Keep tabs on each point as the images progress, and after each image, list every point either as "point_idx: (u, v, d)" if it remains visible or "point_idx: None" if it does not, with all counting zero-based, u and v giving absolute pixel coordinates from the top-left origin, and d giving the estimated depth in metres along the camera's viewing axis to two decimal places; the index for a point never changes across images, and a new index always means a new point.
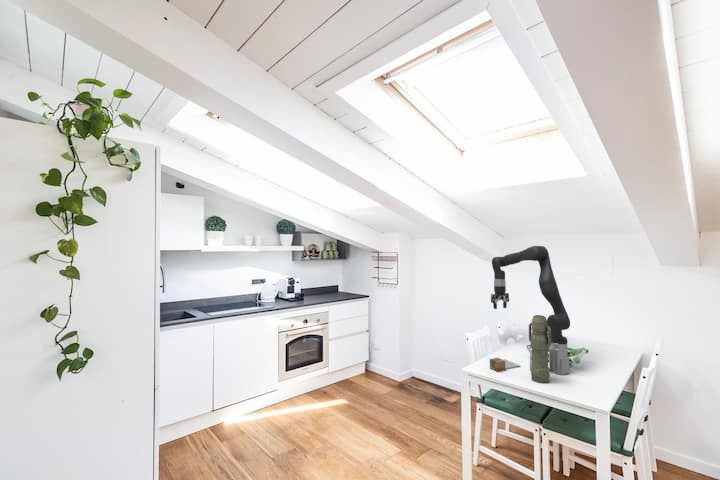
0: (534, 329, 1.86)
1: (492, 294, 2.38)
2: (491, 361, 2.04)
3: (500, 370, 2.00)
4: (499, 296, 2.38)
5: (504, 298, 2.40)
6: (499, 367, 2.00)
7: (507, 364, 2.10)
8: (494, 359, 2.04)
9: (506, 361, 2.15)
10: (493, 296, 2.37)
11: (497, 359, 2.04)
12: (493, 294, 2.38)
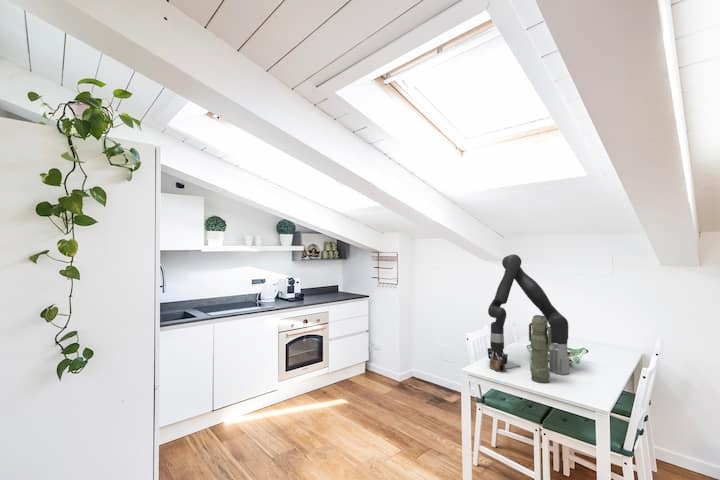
0: (534, 329, 1.86)
1: (505, 355, 1.97)
2: (491, 361, 2.04)
3: None
4: None
5: None
6: (499, 366, 2.00)
7: (507, 364, 2.10)
8: (494, 359, 2.04)
9: None
10: None
11: (497, 359, 2.04)
12: None
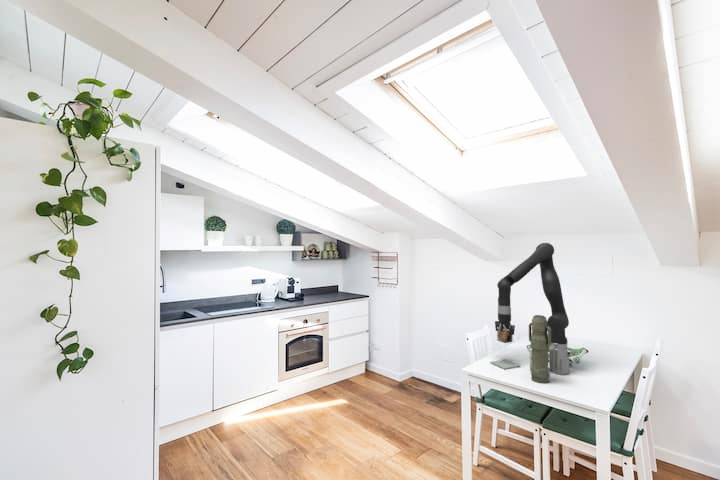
0: (534, 329, 1.86)
1: (513, 326, 2.05)
2: (498, 333, 2.11)
3: (507, 341, 2.08)
4: None
5: None
6: (506, 338, 2.07)
7: (507, 364, 2.10)
8: (501, 331, 2.11)
9: (506, 361, 2.15)
10: (514, 327, 2.05)
11: (504, 331, 2.11)
12: (514, 325, 2.05)
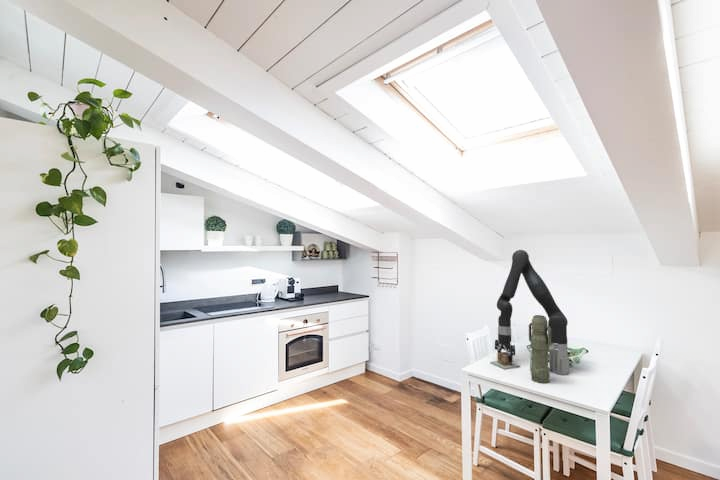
0: (534, 329, 1.86)
1: (513, 345, 2.05)
2: (499, 355, 2.12)
3: (507, 364, 2.08)
4: None
5: None
6: (506, 360, 2.08)
7: None
8: (501, 353, 2.12)
9: None
10: (514, 347, 2.05)
11: (504, 353, 2.12)
12: (514, 345, 2.05)
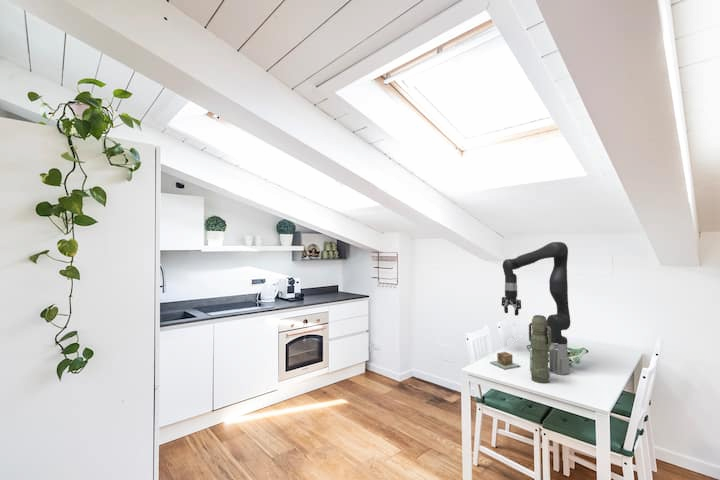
0: (534, 329, 1.86)
1: (519, 300, 2.20)
2: (499, 355, 2.12)
3: (507, 364, 2.08)
4: None
5: None
6: (506, 360, 2.08)
7: None
8: (501, 353, 2.12)
9: None
10: (520, 302, 2.20)
11: (504, 353, 2.12)
12: None
